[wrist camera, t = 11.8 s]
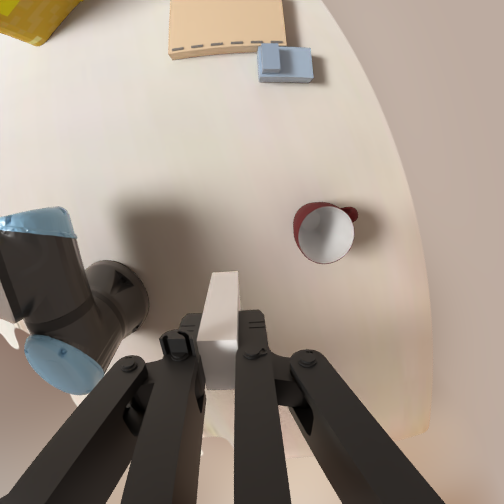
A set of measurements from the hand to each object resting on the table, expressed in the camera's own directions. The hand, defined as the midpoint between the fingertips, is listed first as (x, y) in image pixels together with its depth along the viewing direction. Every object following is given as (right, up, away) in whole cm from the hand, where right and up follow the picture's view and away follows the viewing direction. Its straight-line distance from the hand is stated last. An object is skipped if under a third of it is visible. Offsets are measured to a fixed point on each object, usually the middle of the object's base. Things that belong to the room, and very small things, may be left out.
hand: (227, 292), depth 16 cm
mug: (+12, +8, +29) cm, 32 cm away
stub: (+6, +32, +21) cm, 38 cm away
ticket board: (-3, +40, +18) cm, 43 cm away
